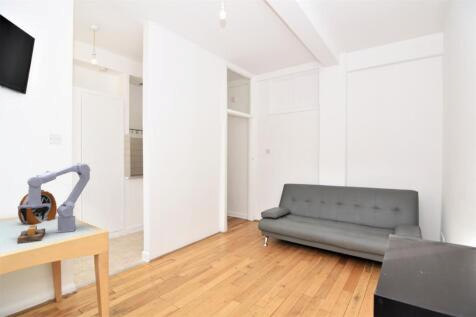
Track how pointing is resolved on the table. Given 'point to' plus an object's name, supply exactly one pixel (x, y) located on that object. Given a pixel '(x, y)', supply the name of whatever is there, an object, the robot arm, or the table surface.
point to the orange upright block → (32, 230)
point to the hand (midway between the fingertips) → (34, 220)
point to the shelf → (31, 236)
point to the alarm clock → (39, 209)
